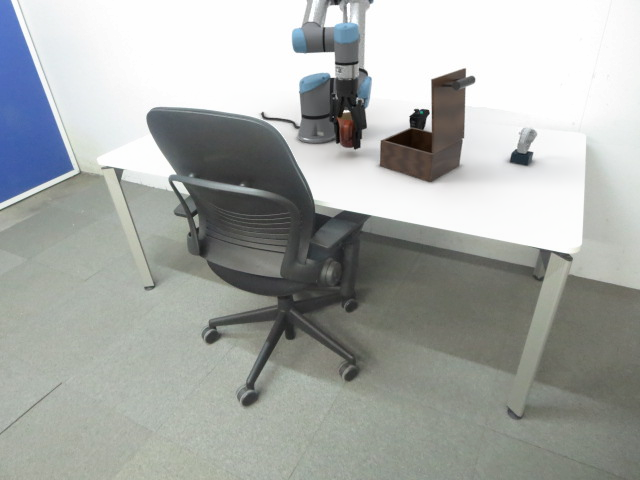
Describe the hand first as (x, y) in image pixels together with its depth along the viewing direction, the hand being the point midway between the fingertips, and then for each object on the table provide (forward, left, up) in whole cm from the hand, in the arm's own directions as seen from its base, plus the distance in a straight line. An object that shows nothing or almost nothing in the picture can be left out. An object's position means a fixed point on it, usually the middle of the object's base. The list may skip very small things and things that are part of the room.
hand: (347, 145), depth 148 cm
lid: (+32, +8, +16) cm, 37 cm away
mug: (+1, 0, -1) cm, 1 cm away
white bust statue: (+47, +32, -4) cm, 57 cm away
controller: (+5, +35, -4) cm, 35 cm away
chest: (+24, +8, -4) cm, 26 cm away
